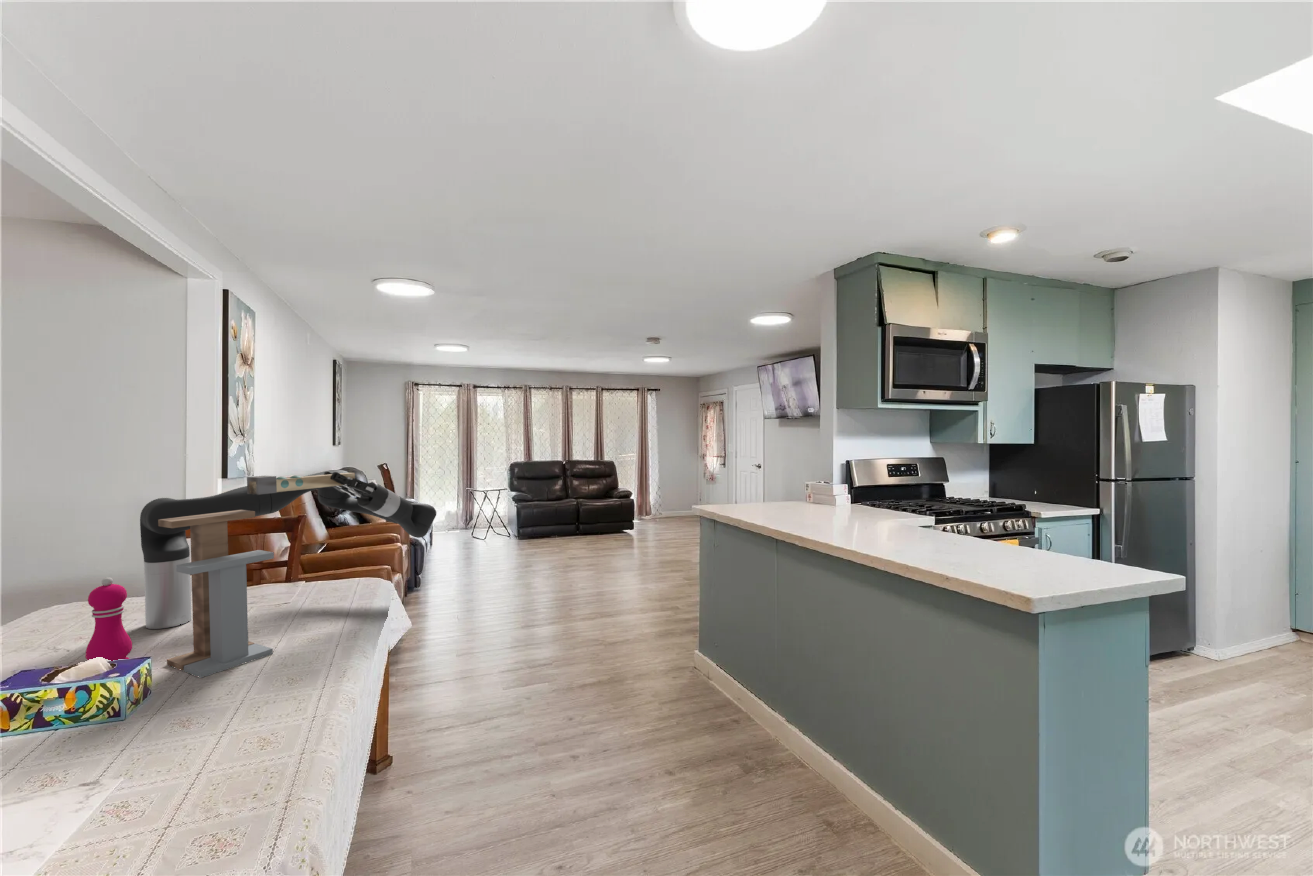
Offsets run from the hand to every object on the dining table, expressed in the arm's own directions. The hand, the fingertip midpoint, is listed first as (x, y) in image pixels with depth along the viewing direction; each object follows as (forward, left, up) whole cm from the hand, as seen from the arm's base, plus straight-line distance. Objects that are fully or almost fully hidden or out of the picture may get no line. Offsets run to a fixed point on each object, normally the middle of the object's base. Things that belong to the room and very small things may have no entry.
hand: (328, 474), depth 152 cm
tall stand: (0, -28, -39) cm, 48 cm away
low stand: (+7, -28, -39) cm, 48 cm away
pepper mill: (-11, -42, -39) cm, 58 cm away
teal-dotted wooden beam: (0, -6, -3) cm, 7 cm away
